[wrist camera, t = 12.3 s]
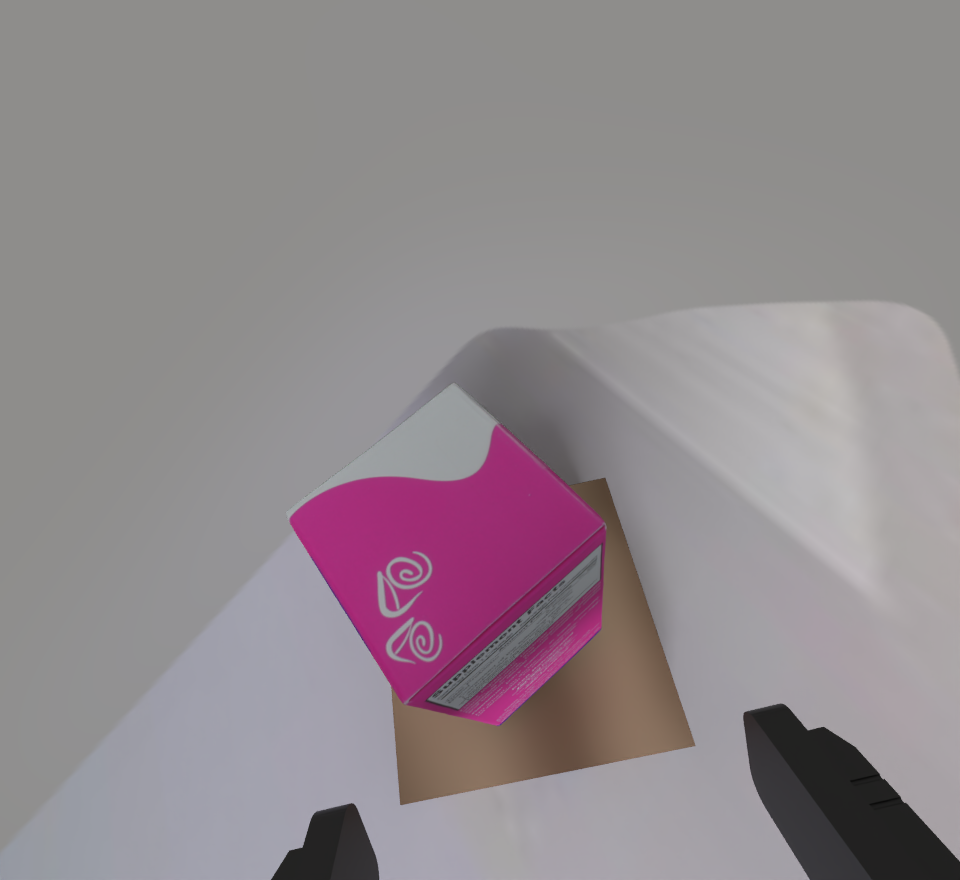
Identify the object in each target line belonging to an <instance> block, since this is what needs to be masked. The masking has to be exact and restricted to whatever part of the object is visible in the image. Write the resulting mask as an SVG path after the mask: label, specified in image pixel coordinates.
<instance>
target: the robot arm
mask: <svg viewBox="0 0 960 880" xmlns="http://www.w3.org/2000/svg"><path fill="white" fill-rule="evenodd" d="M743 719H744V727H745V734H746V742H747V749H748V756H749V764H750V770H751V775H752V778H753V781H754V784H755V787H756V789H757V792H758V794H759V796H760V798H761V800H762V802H763V804H764V806H765V808H766V809H767V811H768V813H769V814H770V816H771V818H772V819H773V821H774V822H775V824H776V826H777V827H778V829H779V830H780V832H781V834H782V835H783V837H784V838H785V840H786V842H787V843H788V845H789V847H790V848H791V850H792V851H793V853H794V855H795V856H796V858H797V859H798V861H799V863H800V864H801V866H802V867H803V869H804V871H805V872H806V874H807V875H808V877H809V879H810V880H960V861H959V860H958V859H957V858H956V857H955V856H954V855H953V854H952V853H951V851H950V850H949V849H948V848H947V847H946V846H945V845H944V844H943V843H942V842H941V841H940V839H939V838H938V837H937V836H936V835H935V834H934V833H933V832H932V831H931V830H930V828H929V827H928V826H927V825H926V824H925V823H924V822H923V821H922V820H921V819H920V818H919V816H918V815H917V814H916V813H915V812H914V811H913V810H912V809H911V808H910V807H909V805H908V804H907V803H904V802H903V801H902V800H901V797H900V796H899V795H898V793H897V792H896V791H895V790H894V789H893V788H892V787H891V786H890V785H889V784H888V782H887V781H886V780H885V779H882V778H881V776H880V774H879V773H878V772H877V770H876V769H875V768H874V767H873V766H872V765H871V764H870V763H869V762H868V761H867V759H866V758H865V757H864V756H863V755H862V754H861V753H860V752H859V751H858V750H857V749H856V747H854V746H853V745H851V744H850V743H848V742H847V741H845V740H843V739H842V738H840V737H839V736H837V735H836V734H834V733H833V732H831V731H829V730H828V729H826V728H825V727H821V728H817V729H812V730H807V729H806V728H805V727H804V726H803V724H802V723H801V722H800V721H799V720H798V718H797V717H796V716H795V715H794V714H793V712H792V711H791V710H790V709H789V708H788V707H787V706H786V705H784V704H777V705H772V706H768V707H764V708H760V709H755V710H751V711H747V712H745V713H744V715H743ZM271 880H379V871H378V864H377V859H376V856H375V853H374V850H373V848H372V845H371V843H370V840H369V838H368V835H367V833H366V830H365V828H364V825H363V822H362V820H361V817H360V815H359V812H358V810H357V808H356V806H355V805H354V804H352V803H351V804H347V805H343V806H338V807H334V808H330V809H326V810H321V811H317V812H316V813H314V815H313V816H312V819H311V821H310V824H309V828H308V831H307V835H306V838H305V842H304V845H303V848H299V849H295V850H290V851H289V852H288V854H287V855H286V857H285V859H284V860H283V862H282V863H281V865H280V866H279V868H278V870H277V871H276V873H275V874H274V876H273V878H272V879H271Z"/></svg>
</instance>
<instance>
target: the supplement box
mask: <svg viewBox="0 0 960 880" xmlns="http://www.w3.org/2000/svg"><path fill="white" fill-rule="evenodd" d="M286 516H287V519H288V521H289V522H290V524H291V525H292V527H293V529H294V531H295V532H296V534H297V536H298V537H299V539H300V540H301V542H302V544H303V545H304V547H305V549H306V550H307V552H308V553H309V555H310V557H311V558H312V560H313V561H314V563H315V565H316V566H317V568H318V569H319V571H320V573H321V574H322V576H323V577H324V579H325V581H326V582H327V584H328V586H329V587H330V589H331V590H332V592H333V594H334V595H335V597H336V598H337V600H338V601H339V603H340V605H341V606H342V608H343V609H344V611H345V613H346V614H347V616H348V617H349V619H350V620H351V622H352V624H353V625H354V627H355V628H356V630H357V632H358V633H359V635H360V636H361V638H362V640H363V641H364V643H365V644H366V646H367V648H368V649H369V651H370V652H371V654H372V656H373V657H374V659H375V660H376V662H377V663H378V665H379V667H380V668H381V670H382V671H383V673H384V675H385V676H386V678H387V680H388V681H389V683H390V684H391V686H392V688H393V689H394V691H395V693H396V694H397V696H398V698H399V699H400V701H401V702H402V703H403V704H404V705H408V706H413V707H418V708H422V709H426V710H431V711H435V712H439V713H445V714H447V715H452V716H456V717H462V718H466V719H471V720H475V721H479V722H483V723H487V724H491V725H496V726H500V725H501V724H502V723H503V722H505V721H506V720H507V719H508V718H509V717H510V716H511V715H512V714H513V713H514V712H515V711H516V710H517V709H518V708H520V707H521V706H522V705H523V704H524V703H525V702H526V701H527V700H528V699H529V698H530V697H531V696H532V695H533V694H534V693H535V692H537V691H538V690H539V689H540V688H541V687H542V686H543V685H544V684H545V683H546V682H547V681H548V680H549V679H550V678H551V677H553V676H554V675H555V674H556V673H557V672H558V671H559V670H560V669H561V668H562V667H563V666H564V665H565V664H566V663H567V662H568V661H569V660H571V659H572V658H573V657H574V656H575V655H576V654H577V653H578V652H579V651H580V650H581V649H582V648H583V647H584V646H585V645H586V644H587V643H588V642H589V641H590V640H591V639H592V638H593V637H594V636H595V635H596V634H597V633H598V632H599V631H600V630H601V628H602V604H603V586H604V582H603V580H604V558H605V544H606V528H607V527H606V524H605V522H604V520H603V519H602V518H601V516H600V515H599V514H598V513H597V512H596V511H595V510H594V509H593V508H592V507H590V506H589V505H588V504H587V503H586V502H585V501H584V500H583V499H582V498H581V497H580V496H579V495H578V494H577V493H576V492H575V491H574V490H573V489H572V488H571V487H570V486H568V485H567V484H566V483H565V482H564V481H563V480H562V479H561V478H560V477H559V476H557V475H556V474H555V473H554V472H553V471H552V470H551V469H550V468H549V467H548V466H547V465H546V464H545V463H544V462H543V461H542V460H541V459H540V458H538V457H537V456H536V455H535V454H534V453H533V452H532V451H531V450H530V449H529V448H527V447H526V446H525V445H524V444H523V443H522V442H521V441H520V440H519V439H517V438H516V437H515V436H514V435H513V434H512V433H511V432H510V431H509V430H508V429H507V428H505V427H504V426H503V425H502V424H501V423H500V422H499V421H498V420H497V419H496V418H495V417H493V416H492V415H491V414H490V413H489V412H488V411H487V410H486V409H485V408H483V407H482V406H481V405H480V404H479V403H478V402H477V401H476V400H475V399H474V398H473V397H471V396H470V395H469V394H468V393H467V392H466V391H465V390H464V389H462V388H461V387H460V386H459V385H457V384H456V383H452V384H450V385H449V386H448V387H447V388H445V389H444V390H443V391H442V392H440V393H439V394H438V395H437V396H435V397H434V398H433V399H432V400H430V401H429V402H428V403H427V404H425V405H424V406H423V407H422V408H420V409H419V410H418V411H417V412H415V413H414V414H413V415H412V416H410V417H409V418H408V419H407V420H405V421H404V422H403V423H402V424H400V425H399V426H398V427H397V428H395V429H394V430H393V431H391V432H390V433H389V434H388V435H386V436H385V437H384V438H382V439H381V440H380V441H378V442H377V443H376V444H375V445H373V446H372V447H371V448H369V449H368V450H367V451H365V452H364V453H363V454H361V455H360V456H359V457H357V458H356V459H355V460H353V461H352V462H351V463H350V464H348V465H347V466H346V467H344V468H343V469H342V470H340V471H339V472H337V473H336V474H335V475H333V476H332V477H331V478H329V479H328V480H327V481H326V482H324V483H323V484H322V485H320V486H319V487H318V488H316V489H315V490H314V491H312V492H311V493H310V494H308V495H307V496H305V498H303V499H302V500H300V501H299V502H298V503H296V504H295V505H294V506H293V507H291V508H290V509H289V510H288V511H287V512H286Z"/></svg>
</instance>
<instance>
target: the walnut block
mask: <svg viewBox="0 0 960 880" xmlns="http://www.w3.org/2000/svg"><path fill="white" fill-rule="evenodd" d="M570 487H571V488H572V489H573V490H574V491H575V492H576V493H577V494H578V495H579V496H580V497H581V498H582V499H583V500H584V501H585V502H586V503H587V504H588V505H589V506H590V507H592V508H593V509H594V510H595V511H596V512H597V513H598V514H599V515H600V516H601V518H602V519H603V520H604V522H605V524H606V527H607V528H606V544H605V558H604V580H603V582H604V586H603V604H602V628H601V630H600V631H599V632H598V633H597V634H596V635H595V636H594V637H593V638H592V639H591V640H590V641H589V642H588V643H587V644H586V645H585V646H584V647H583V648H582V649H581V650H580V651H579V652H578V653H577V654H576V655H575V656H574V657H573V658H572V659H571V660H569V661H568V662H567V663H566V664H565V665H564V666H563V667H562V668H561V669H560V670H559V671H558V672H557V673H556V674H555V675H554V676H553V677H551V678H550V679H549V680H548V681H547V682H546V683H545V684H544V685H543V686H542V687H541V688H540V689H539V690H538V691H537V692H535V693H534V694H533V695H532V696H531V697H530V698H529V699H528V700H527V701H526V702H525V703H524V704H523V705H522V706H521V707H520V708H518V709H517V710H516V711H515V712H514V713H513V714H512V715H511V716H510V717H509V718H508V719H507V720H506V721H505V722H503V723H502V724H501V725H500V726H496V725H491V724H487V723H483V722H479V721H475V720H471V719H466V718H462V717H456V716H452V715H447V714H445V713H439V712H435V711H431V710H426V709H422V708H418V707H413V706H408V705H404V704H403V703H402V702H401V701H400V699H399V698H398V696H397V694H396V693H395V691H394V689H393V688H392V686H391V689H392V702H393V715H394V728H395V741H396V754H397V767H398V780H399V793H400V805H403V804H408V803H413V802H418V801H423V800H428V799H433V798H438V797H443V796H448V795H453V794H458V793H463V792H468V791H473V790H478V789H483V788H488V787H493V786H498V785H503V784H508V783H513V782H518V781H523V780H528V779H533V778H538V777H543V776H548V775H553V774H558V773H563V772H568V771H573V770H578V769H583V768H588V767H593V766H598V765H603V764H608V763H613V762H617V761H622V760H627V759H632V758H637V757H642V756H647V755H652V754H657V753H662V752H667V751H672V750H677V749H682V748H687V747H692V746H695V743H694V740H693V737H692V734H691V731H690V728H689V725H688V722H687V719H686V716H685V713H684V710H683V707H682V705H681V702H680V699H679V696H678V693H677V690H676V687H675V684H674V681H673V678H672V675H671V672H670V669H669V666H668V663H667V660H666V657H665V654H664V651H663V648H662V645H661V642H660V639H659V636H658V633H657V630H656V627H655V624H654V621H653V618H652V615H651V613H650V610H649V607H648V604H647V601H646V598H645V595H644V592H643V589H642V586H641V583H640V580H639V577H638V574H637V571H636V568H635V565H634V562H633V559H632V556H631V553H630V550H629V547H628V544H627V541H626V538H625V535H624V532H623V529H622V526H621V523H620V520H619V518H618V515H617V512H616V509H615V506H614V503H613V500H612V497H611V494H610V491H609V488H608V485H607V482H606V479H605V478H602V479H597V480H593V481H588V482H583V483H579V484H574V485H570Z"/></svg>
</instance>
